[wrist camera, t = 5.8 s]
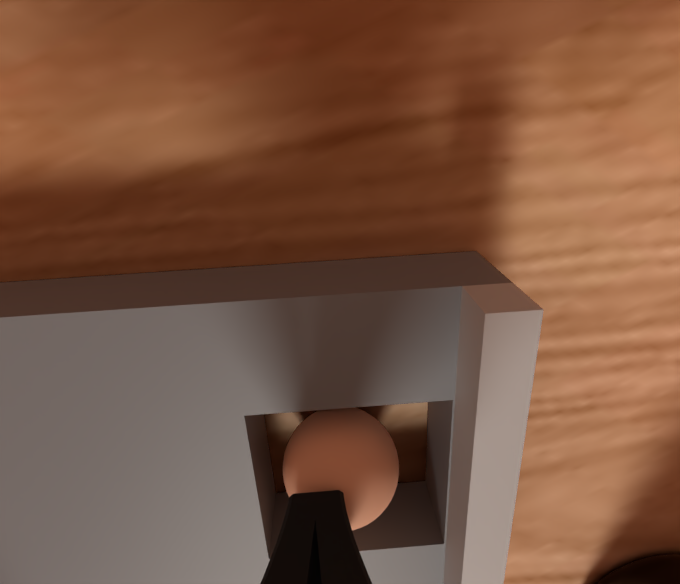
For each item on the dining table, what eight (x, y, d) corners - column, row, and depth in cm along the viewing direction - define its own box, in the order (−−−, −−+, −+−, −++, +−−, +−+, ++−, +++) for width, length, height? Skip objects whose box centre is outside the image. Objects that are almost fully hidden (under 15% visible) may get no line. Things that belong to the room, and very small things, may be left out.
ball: (398, 563, 12) (276, 554, 12) (393, 463, 15) (296, 458, 15) (406, 476, 11) (265, 468, 11) (399, 384, 14) (290, 380, 14)
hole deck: (454, 539, 17) (492, 657, 13) (72, 571, 17) (2, 702, 13) (476, 251, 12) (543, 309, 9) (-54, 285, 12) (-219, 362, 8)
